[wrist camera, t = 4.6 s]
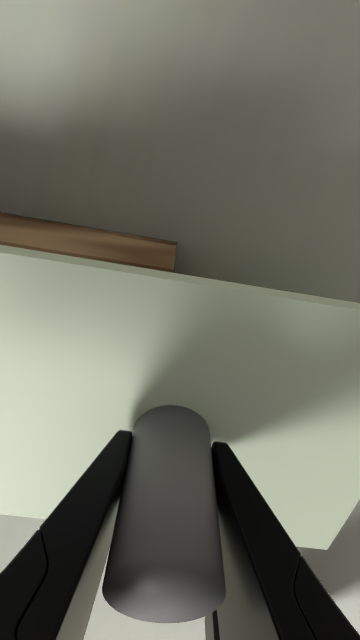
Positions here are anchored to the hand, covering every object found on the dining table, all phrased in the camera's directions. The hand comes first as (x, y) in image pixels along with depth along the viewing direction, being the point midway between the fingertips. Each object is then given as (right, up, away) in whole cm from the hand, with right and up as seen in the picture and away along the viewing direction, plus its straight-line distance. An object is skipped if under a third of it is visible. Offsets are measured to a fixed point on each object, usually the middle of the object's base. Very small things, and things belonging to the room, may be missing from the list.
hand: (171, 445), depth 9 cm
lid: (0, 0, +1) cm, 1 cm away
